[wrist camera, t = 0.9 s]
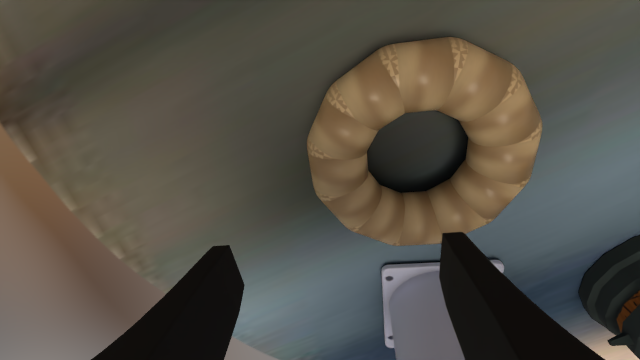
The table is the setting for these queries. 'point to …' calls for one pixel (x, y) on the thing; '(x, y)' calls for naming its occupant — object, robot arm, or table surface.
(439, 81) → the ring
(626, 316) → the mug
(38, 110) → the table surface
